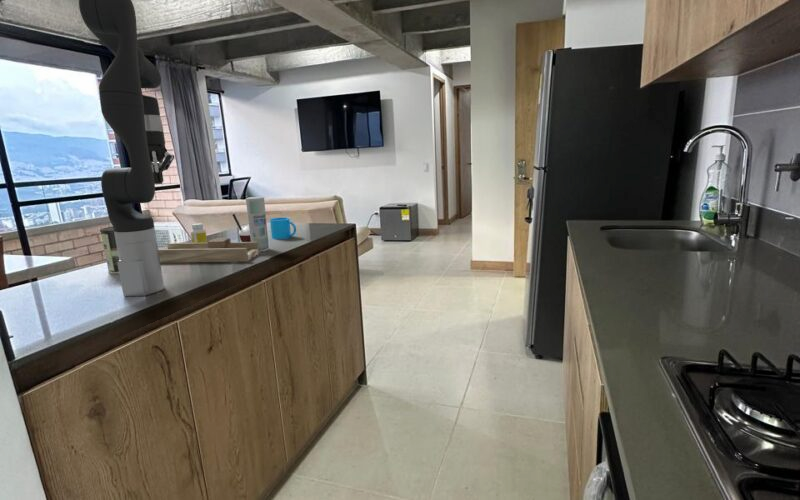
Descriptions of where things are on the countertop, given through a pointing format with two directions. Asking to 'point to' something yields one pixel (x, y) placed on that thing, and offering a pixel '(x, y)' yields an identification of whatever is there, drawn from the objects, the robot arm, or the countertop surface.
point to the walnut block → (219, 243)
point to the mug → (281, 228)
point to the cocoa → (243, 232)
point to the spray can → (257, 222)
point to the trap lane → (208, 252)
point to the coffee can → (110, 249)
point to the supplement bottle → (198, 233)
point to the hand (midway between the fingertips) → (158, 183)
